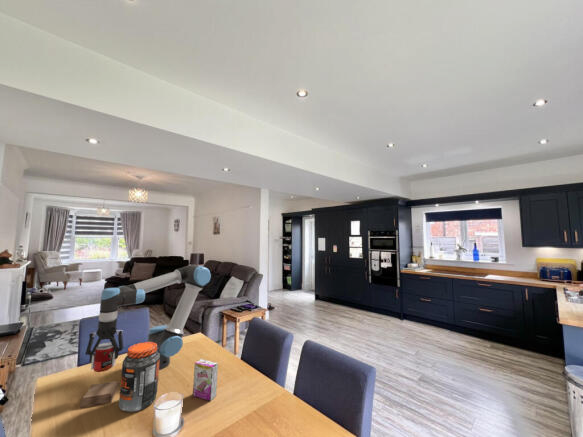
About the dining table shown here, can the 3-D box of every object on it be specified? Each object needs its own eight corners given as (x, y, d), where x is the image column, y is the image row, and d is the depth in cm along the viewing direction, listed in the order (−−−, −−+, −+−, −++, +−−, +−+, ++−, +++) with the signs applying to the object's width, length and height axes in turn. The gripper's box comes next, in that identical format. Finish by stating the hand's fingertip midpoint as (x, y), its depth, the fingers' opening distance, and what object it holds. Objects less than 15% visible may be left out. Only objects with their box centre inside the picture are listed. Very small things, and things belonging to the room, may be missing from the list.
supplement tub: (117, 399, 120) (122, 344, 122) (153, 389, 129) (157, 337, 132) (119, 419, 107) (124, 357, 110) (159, 405, 117) (163, 348, 119)
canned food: (102, 373, 118) (104, 349, 119) (88, 371, 119) (91, 347, 121) (116, 365, 125) (118, 343, 126) (103, 363, 127) (106, 341, 128)
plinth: (118, 388, 129) (119, 380, 129) (111, 402, 118) (111, 393, 118) (90, 392, 125) (91, 384, 125) (80, 407, 113) (81, 398, 114)
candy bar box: (191, 396, 124) (194, 362, 126) (198, 391, 129) (200, 358, 130) (210, 402, 120) (212, 367, 122) (216, 396, 125) (218, 362, 127)
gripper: (133, 315, 132) (129, 360, 130) (86, 319, 124) (80, 366, 122) (129, 320, 125) (125, 367, 123) (79, 323, 117) (74, 374, 115)
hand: (103, 366), depth 122 cm, fingers closed on canned food, 8 cm apart
